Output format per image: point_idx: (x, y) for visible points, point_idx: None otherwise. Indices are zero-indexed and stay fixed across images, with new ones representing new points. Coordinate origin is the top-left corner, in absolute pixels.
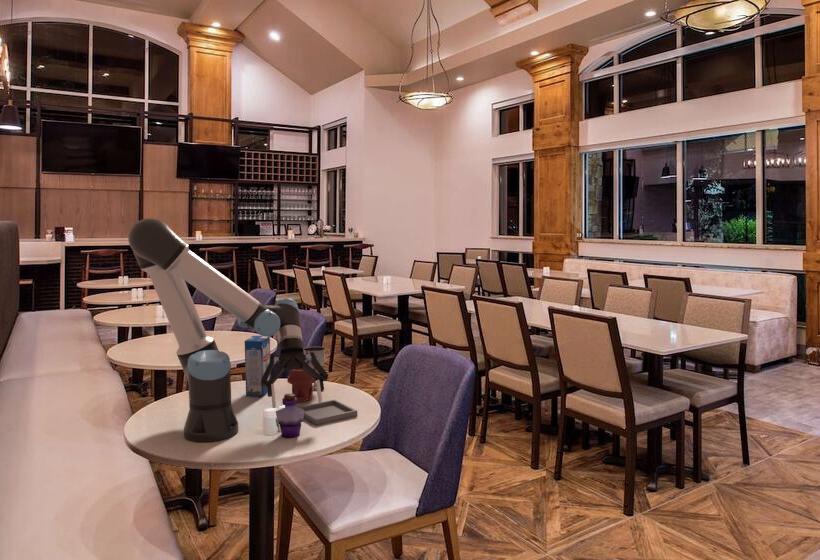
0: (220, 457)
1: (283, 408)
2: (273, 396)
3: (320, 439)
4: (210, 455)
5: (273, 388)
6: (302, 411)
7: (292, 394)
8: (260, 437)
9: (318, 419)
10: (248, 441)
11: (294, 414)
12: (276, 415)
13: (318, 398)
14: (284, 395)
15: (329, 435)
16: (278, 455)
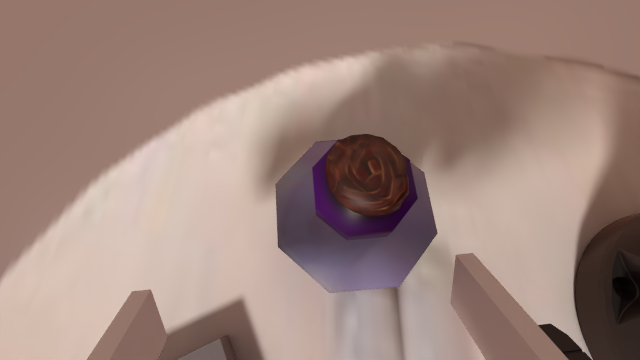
0: (546, 83)
1: (395, 251)
2: (498, 292)
3: (235, 164)
4: (585, 102)
5: (546, 355)
6: (285, 188)
7: (346, 174)
8: (460, 228)
9: (207, 345)
10: (496, 195)
11: (329, 148)
12: (421, 173)
13: (151, 346)
14: (407, 179)
15: (195, 197)
16: (374, 67)
